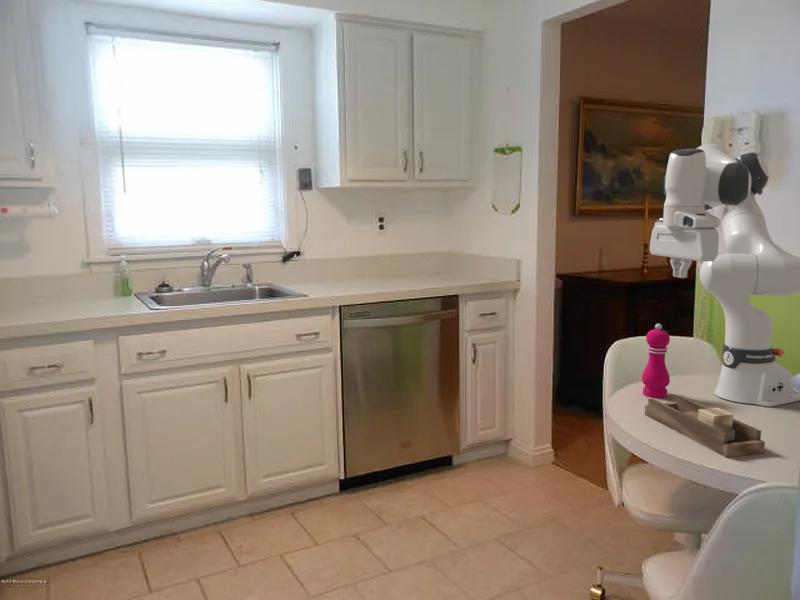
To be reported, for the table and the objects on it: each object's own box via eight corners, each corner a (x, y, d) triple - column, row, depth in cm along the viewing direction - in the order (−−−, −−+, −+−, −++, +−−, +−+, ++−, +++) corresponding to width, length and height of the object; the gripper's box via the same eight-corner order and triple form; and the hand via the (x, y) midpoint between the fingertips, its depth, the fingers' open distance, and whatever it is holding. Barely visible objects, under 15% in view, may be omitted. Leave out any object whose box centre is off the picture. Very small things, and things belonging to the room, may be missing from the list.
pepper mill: (637, 390, 184) (640, 321, 181) (663, 390, 184) (667, 321, 181) (646, 398, 177) (649, 326, 174) (673, 398, 177) (677, 326, 174)
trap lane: (677, 411, 166) (678, 394, 166) (763, 452, 139) (765, 432, 138) (644, 414, 164) (645, 397, 163) (726, 457, 137) (727, 437, 136)
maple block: (716, 424, 149) (717, 407, 149) (731, 431, 145) (733, 414, 144) (697, 426, 148) (698, 409, 148) (712, 433, 144) (713, 416, 143)
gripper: (644, 217, 163) (642, 272, 165) (701, 220, 143) (697, 282, 145) (666, 217, 164) (663, 272, 166) (725, 220, 145) (721, 281, 147)
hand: (679, 277), depth 156 cm, fingers closed
